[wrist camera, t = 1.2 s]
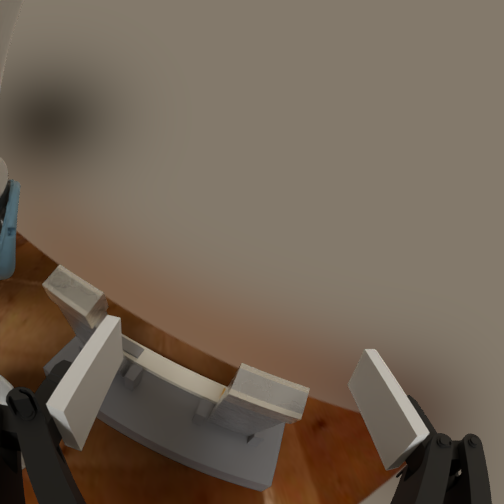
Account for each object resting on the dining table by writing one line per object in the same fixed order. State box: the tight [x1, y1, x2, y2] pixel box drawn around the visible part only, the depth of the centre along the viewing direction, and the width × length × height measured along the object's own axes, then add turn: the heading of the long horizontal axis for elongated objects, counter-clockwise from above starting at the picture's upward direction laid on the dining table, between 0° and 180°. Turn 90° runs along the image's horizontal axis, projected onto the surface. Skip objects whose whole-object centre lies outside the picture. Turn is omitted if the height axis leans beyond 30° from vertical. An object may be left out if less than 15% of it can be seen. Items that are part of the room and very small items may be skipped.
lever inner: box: [42, 264, 130, 378], centre depth 24 cm, size 5×2×17 cm, turn 76°
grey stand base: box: [43, 333, 285, 491], centre depth 29 cm, size 30×12×6 cm, turn 76°
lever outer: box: [208, 363, 309, 436], centre depth 23 cm, size 5×2×17 cm, turn 76°
